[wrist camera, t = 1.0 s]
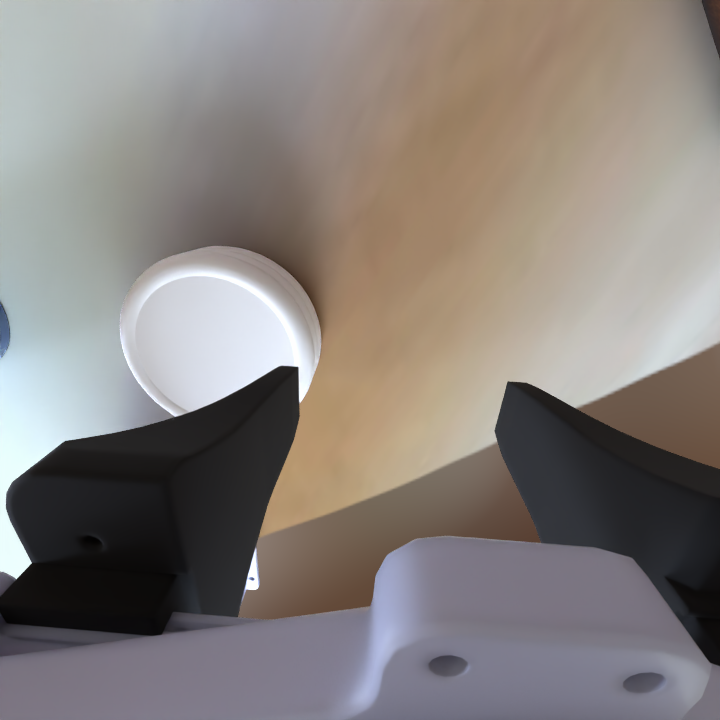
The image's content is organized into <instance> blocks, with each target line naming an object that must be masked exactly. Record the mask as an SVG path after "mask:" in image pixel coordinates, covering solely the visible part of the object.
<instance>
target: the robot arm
mask: <svg viewBox="0 0 720 720" xmlns="http://www.w3.org/2000/svg"><path fill="white" fill-rule="evenodd" d="M299 417H300V415H299V368H298V367H295V366H279V367H277V368H275V369H273V370H272V371H270V372H268V373H267V374H265V375H263V376H262V377H260V378H258V379H257V380H255V381H253V382H252V383H250V384H248V385H247V386H245V387H243V388H241V389H239V390H238V391H236V392H234V393H232V394H230V395H228V396H226V397H224V398H222V399H220V400H218V401H216V402H214V403H212V404H209V405H207V406H204V407H202V408H200V409H197V410H194V411H192V412H189V413H186V414H183V415H180V416H177V417H174V418H171V419H168V420H165V421H161V422H158V423H154V424H150V425H147V426H143V427H139V428H134V429H130V430H126V431H121V432H116V433H111V434H105V435H100V436H94V437H88V438H82V439H76V440H69V441H65V442H63V443H62V444H61V445H59V446H58V447H57V448H55V449H54V450H53V451H52V452H50V453H49V454H48V455H46V456H45V457H44V458H43V459H41V460H40V461H39V462H37V463H36V464H35V465H34V466H32V467H31V468H30V469H28V470H27V471H26V472H25V473H23V474H22V475H21V476H20V477H18V478H17V479H16V480H14V481H13V482H12V484H11V486H10V487H9V489H8V491H7V494H6V510H7V513H8V515H9V518H10V521H11V523H12V525H13V527H14V529H15V531H16V533H17V535H18V537H19V539H20V541H21V543H22V545H23V546H24V548H25V550H26V552H27V554H28V556H29V558H30V560H31V562H32V564H31V565H30V566H29V567H28V568H27V569H26V570H25V571H24V572H23V573H22V574H21V575H20V576H19V577H18V578H17V579H15V578H14V577H12V576H11V575H9V574H7V573H4V572H0V720H720V469H718V468H714V467H711V466H708V465H705V464H702V463H699V462H696V461H693V460H691V459H688V458H685V457H682V456H679V455H677V454H674V453H671V452H668V451H666V450H663V449H660V448H658V447H655V446H653V445H650V444H648V443H646V442H643V441H641V440H639V439H636V438H634V437H632V436H629V435H627V434H625V433H623V432H620V431H618V430H616V429H614V428H612V427H610V426H608V425H606V424H604V423H602V422H600V421H598V420H596V419H594V418H592V417H590V416H588V415H586V414H585V413H583V412H581V411H579V410H577V409H575V408H574V407H572V406H570V405H568V404H566V403H565V402H563V401H561V400H559V399H557V398H556V397H554V396H552V395H550V394H548V393H547V392H545V391H543V390H541V389H539V388H537V387H535V386H533V385H530V384H528V383H522V382H508V383H507V386H506V390H505V394H504V398H503V401H502V405H501V409H500V413H499V416H498V420H497V424H496V428H495V434H496V438H497V441H498V445H499V448H500V451H501V454H502V457H503V459H504V461H505V463H506V465H507V467H508V469H509V471H510V474H511V475H512V478H513V480H514V482H515V484H516V486H517V488H518V490H519V492H520V494H521V496H522V498H523V500H524V502H525V505H526V507H527V509H528V511H529V513H530V515H531V518H532V520H533V522H534V524H535V527H536V529H537V532H538V535H539V538H540V541H541V543H532V542H519V541H506V540H494V539H481V538H468V537H456V536H440V537H430V538H421V539H415V540H413V541H411V542H409V543H407V544H406V545H404V546H402V547H400V548H398V549H396V550H395V551H393V552H391V553H390V554H388V555H387V556H386V558H385V560H384V561H383V563H382V565H381V567H380V569H379V571H378V572H377V574H376V577H375V586H374V595H373V600H372V603H371V606H370V607H363V608H355V609H349V610H341V611H334V612H326V613H319V614H311V615H304V616H297V617H289V618H282V619H274V620H264V619H252V618H240V617H238V614H239V609H240V606H241V603H242V600H243V597H244V594H245V591H246V589H251V590H255V589H257V588H258V587H259V583H260V581H259V570H258V558H257V547H256V544H257V540H258V537H259V533H260V530H261V526H262V523H263V519H264V516H265V512H266V509H267V506H268V503H269V500H270V497H271V494H272V492H273V489H274V487H275V484H276V482H277V480H278V477H279V475H280V472H281V470H282V467H283V465H284V463H285V460H286V458H287V455H288V453H289V450H290V448H291V445H292V443H293V440H294V437H295V433H296V429H297V425H298V421H299Z"/></svg>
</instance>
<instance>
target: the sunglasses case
mask: <svg viewBox="0 0 720 720" xmlns="http://www.w3.org/2000/svg"><path fill="white" fill-rule="evenodd" d="M702 3H703V6H704V10H705V13H706V16H707V19H708V23H709V26H710V29H711V32H712V35H713V38H714V42H715V45H716V48H717V51H718V54H719V58H720V0H702Z"/></svg>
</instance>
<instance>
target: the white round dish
mask: <svg viewBox="0 0 720 720" xmlns="http://www.w3.org/2000/svg"><path fill="white" fill-rule="evenodd" d="M120 338H121V343H122V348H123V352H124V355H125V358H126V361H127V363H128V365H129V367H130V369H131V371H132V373H133V375H134V376H135V378H136V379H137V381H138V382H139V384H140V385H141V386H142V388H143V389H144V390H145V391H146V393H147V394H148V395H149V396H150V397H151V398H152V399H153V400H154V401H155V402H156V403H158V404H159V405H160V406H161V407H163V408H164V409H165V410H167V411H168V412H169V413H171V414H172V415H174V416H176V417H177V416H180V415H183V414H186V413H189V412H192V411H194V410H197V409H200V408H202V407H204V406H207V405H209V404H212V403H214V402H216V401H218V400H220V399H222V398H224V397H226V396H228V395H230V394H232V393H234V392H236V391H238V390H239V389H241V388H243V387H245V386H247V385H248V384H250V383H252V382H253V381H255V380H257V379H258V378H260V377H262V376H263V375H265V374H267V373H268V372H270V371H272V370H273V369H275V368H277V367H279V366H295V367H298V368H299V403H300V402H301V401H302V400H303V398H304V396H305V395H306V393H307V391H308V389H309V386H310V384H311V381H312V378H313V376H314V373H315V370H316V367H317V365H318V362H319V357H320V352H321V330H320V325H319V321H318V317H317V314H316V312H315V309H314V306H313V304H312V302H311V301H310V299H309V297H308V295H307V293H306V292H305V291H304V289H303V288H302V286H301V285H300V284H299V283H298V282H297V281H296V279H295V278H294V277H293V276H292V275H291V274H289V273H288V272H287V271H286V270H285V269H284V268H282V267H281V266H279V265H278V264H277V263H275V262H274V261H272V260H270V259H268V258H266V257H264V256H262V255H260V254H258V253H255V252H252V251H250V250H246V249H242V248H237V247H230V246H210V247H203V248H199V249H196V250H191V251H188V252H184V253H180V254H176V255H173V256H170V257H167V258H165V259H163V260H160V261H158V262H156V263H155V264H154V265H152V266H151V267H149V268H148V269H146V270H145V271H144V272H143V273H142V274H141V275H140V276H139V277H138V279H137V280H136V281H135V282H134V284H133V285H132V287H131V288H130V289H129V291H128V293H127V296H126V298H125V300H124V303H123V306H122V310H121V316H120Z"/></svg>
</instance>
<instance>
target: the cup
mask: <svg viewBox="0 0 720 720" xmlns="http://www.w3.org/2000/svg"><path fill="white" fill-rule="evenodd" d="M9 339H10V329H9V324H8V320H7V317H6V314H5V311H4V309H3V307H2V305H1V303H0V358H1V357H2V356H3V355H4V354H5V352H6V350H7V348H8V345H9Z"/></svg>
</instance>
